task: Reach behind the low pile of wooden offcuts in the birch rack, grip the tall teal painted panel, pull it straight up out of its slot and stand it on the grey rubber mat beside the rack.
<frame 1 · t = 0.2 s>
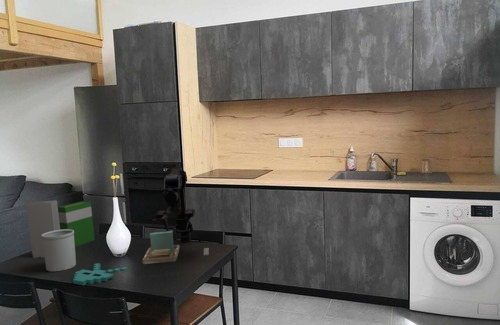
hand: (177, 230, 210), 14 cm above the table, tool pointing down, fingers open, 9 cm apart
utensil holder: (61, 267, 211), on the table
oak offcut: (160, 259, 208), point 1 cm above the table, touching rack, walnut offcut
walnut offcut: (159, 256, 208), point 2 cm above the table, touching oak offcut, pine offcut
brochure: (48, 256, 232), on the table
hardback book: (78, 243, 252), on the table
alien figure: (96, 277, 194), on the table
tall panel: (163, 253, 217), point 1 cm above the table, touching rack
grey mat: (196, 253, 218), on the table
rack: (162, 257, 214), on the table
pine offcut: (161, 253, 208), point 4 cm above the table, touching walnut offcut
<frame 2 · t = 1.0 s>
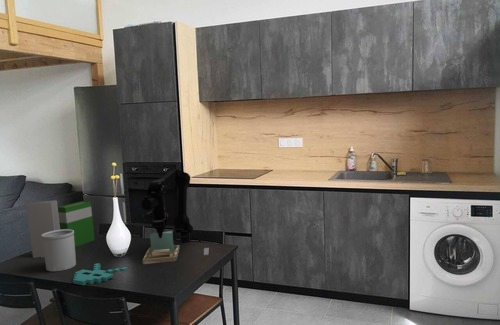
hand: (161, 235, 217), 10 cm above the table, tool pointing down, fingers open, 9 cm apart
nothing on the table moved.
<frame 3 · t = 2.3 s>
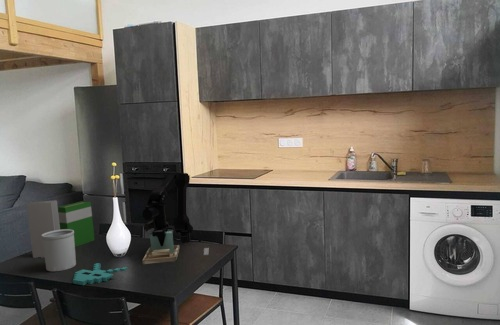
hand: (162, 245, 217), 6 cm above the table, tool pointing down, fingers closed on tall panel, 3 cm apart
tall panel: (163, 253, 217), point 1 cm above the table, touching gripper, rack
everything else where it was.
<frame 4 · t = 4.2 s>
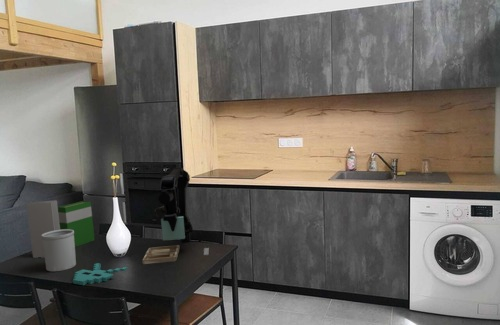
hand: (173, 230, 216), 13 cm above the table, tool pointing down, fingers closed on tall panel, 3 cm apart
tall panel: (174, 238, 217), point 8 cm above the table, touching gripper
everything else where it was.
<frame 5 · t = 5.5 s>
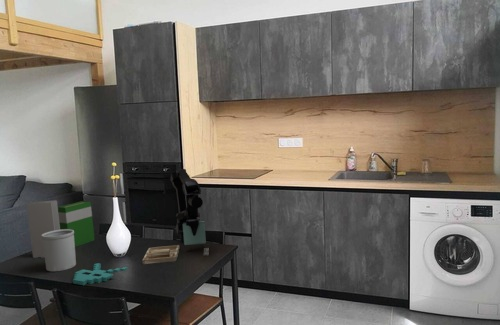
hand: (194, 234, 217), 10 cm above the table, tool pointing down, fingers closed on tall panel, 3 cm apart
tall panel: (195, 243, 217), point 5 cm above the table, touching gripper
everything else where it was.
when the fingers open (6 cm above the table, at t = 6.3 s): tall panel drops 1 cm, resting on grey mat.
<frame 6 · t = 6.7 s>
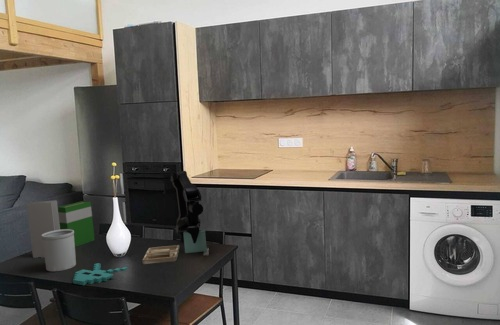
hand: (195, 241, 217), 6 cm above the table, tool pointing down, fingers open, 7 cm apart
tall panel: (196, 252, 218), resting on grey mat
everything else where it was.
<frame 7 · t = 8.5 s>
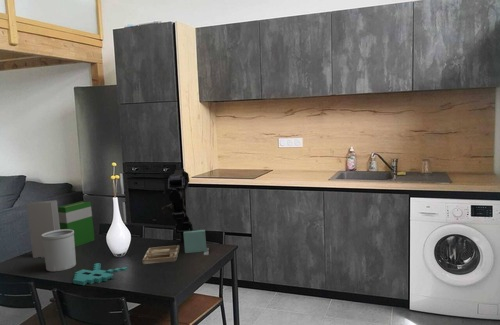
hand: (180, 227, 221), 13 cm above the table, tool pointing down, fingers open, 9 cm apart
nothing on the table moved.
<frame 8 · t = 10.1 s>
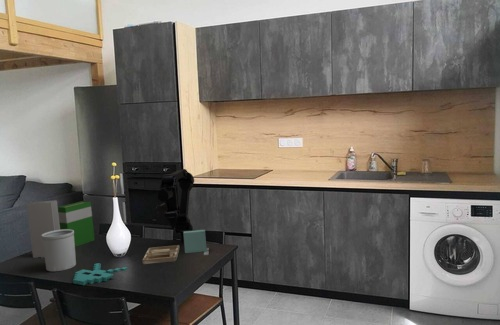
hand: (173, 227, 223), 13 cm above the table, tool pointing down, fingers open, 9 cm apart
nothing on the table moved.
at the end: tall panel inside the target area (0.0 cm from its centre), point 0.5 cm above the table; tall panel tilted 0°; tall panel touching grey mat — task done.
